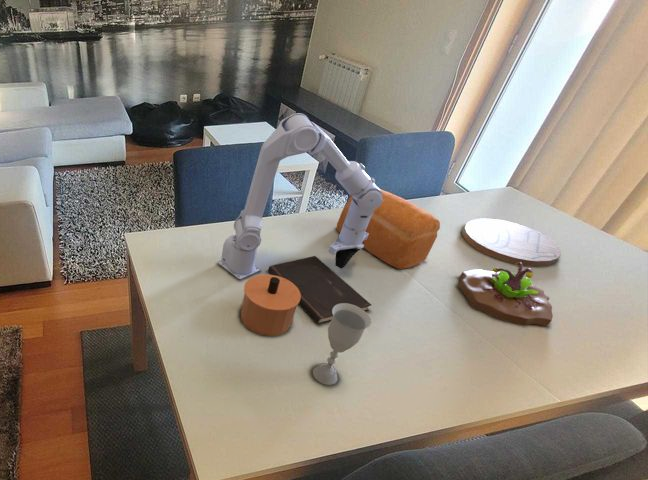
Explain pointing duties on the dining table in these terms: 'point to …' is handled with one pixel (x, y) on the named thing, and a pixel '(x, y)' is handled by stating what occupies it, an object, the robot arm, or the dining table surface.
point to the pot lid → (272, 292)
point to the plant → (507, 295)
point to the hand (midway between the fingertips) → (339, 266)
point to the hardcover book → (318, 287)
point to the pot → (265, 319)
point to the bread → (398, 231)
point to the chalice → (342, 337)
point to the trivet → (511, 242)
